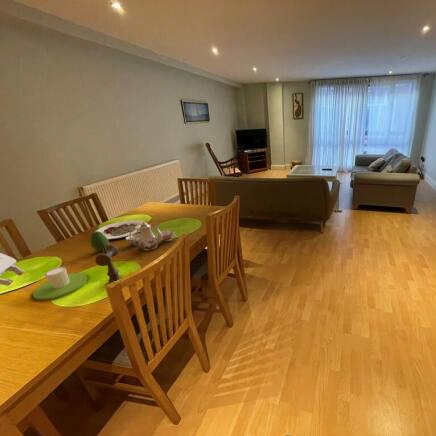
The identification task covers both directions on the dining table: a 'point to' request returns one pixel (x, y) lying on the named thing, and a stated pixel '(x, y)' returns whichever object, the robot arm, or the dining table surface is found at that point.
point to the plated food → (120, 229)
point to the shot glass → (57, 277)
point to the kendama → (109, 261)
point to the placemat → (49, 292)
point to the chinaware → (149, 237)
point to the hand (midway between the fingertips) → (17, 278)
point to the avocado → (98, 241)
